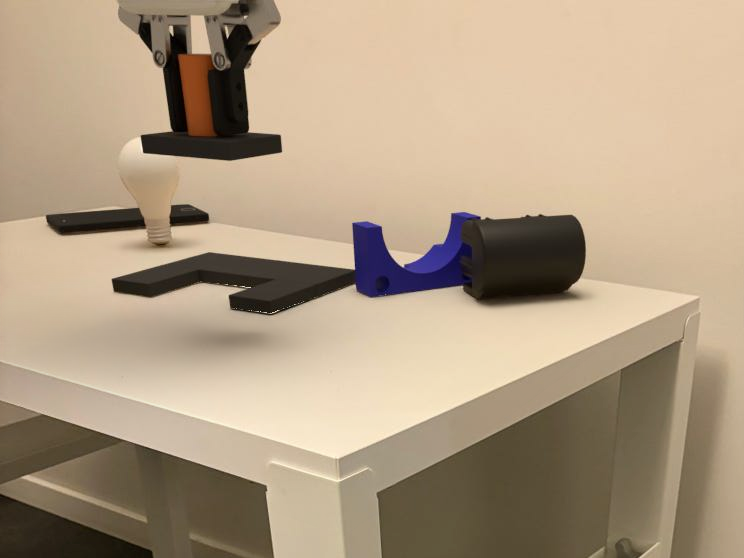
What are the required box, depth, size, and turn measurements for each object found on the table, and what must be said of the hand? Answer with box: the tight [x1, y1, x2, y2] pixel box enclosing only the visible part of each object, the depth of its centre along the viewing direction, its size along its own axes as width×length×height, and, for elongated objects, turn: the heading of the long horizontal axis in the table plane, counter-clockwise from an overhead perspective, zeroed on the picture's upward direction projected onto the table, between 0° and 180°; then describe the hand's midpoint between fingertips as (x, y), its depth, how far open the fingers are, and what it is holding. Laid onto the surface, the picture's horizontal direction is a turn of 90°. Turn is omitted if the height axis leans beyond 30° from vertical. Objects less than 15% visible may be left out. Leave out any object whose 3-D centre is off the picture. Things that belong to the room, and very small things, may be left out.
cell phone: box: [45, 203, 210, 234], centre depth 122 cm, size 9×18×1 cm, turn 121°
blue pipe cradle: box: [351, 211, 482, 298], centre depth 94 cm, size 12×4×6 cm, turn 122°
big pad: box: [111, 251, 356, 313], centre depth 94 cm, size 18×14×1 cm
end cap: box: [460, 213, 587, 300], centre depth 90 cm, size 10×7×7 cm
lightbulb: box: [117, 135, 181, 247], centre depth 107 cm, size 6×6×11 cm
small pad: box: [140, 53, 283, 162], centre depth 70 cm, size 8×6×6 cm
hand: (210, 129), depth 71 cm, fingers closed on small pad, 3 cm apart
